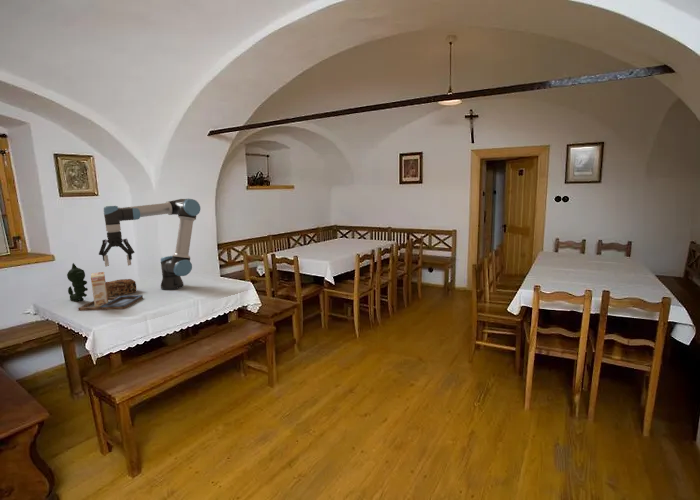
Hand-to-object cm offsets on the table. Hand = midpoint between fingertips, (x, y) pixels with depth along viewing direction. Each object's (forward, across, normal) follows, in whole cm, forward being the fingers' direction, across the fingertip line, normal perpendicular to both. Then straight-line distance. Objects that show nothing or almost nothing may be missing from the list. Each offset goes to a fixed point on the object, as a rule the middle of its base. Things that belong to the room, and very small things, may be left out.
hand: (118, 265), depth 235 cm
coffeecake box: (+25, +13, 0) cm, 28 cm away
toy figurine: (+24, +35, -11) cm, 44 cm away
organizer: (+24, +7, 0) cm, 25 cm away
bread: (+25, +15, -24) cm, 38 cm away
